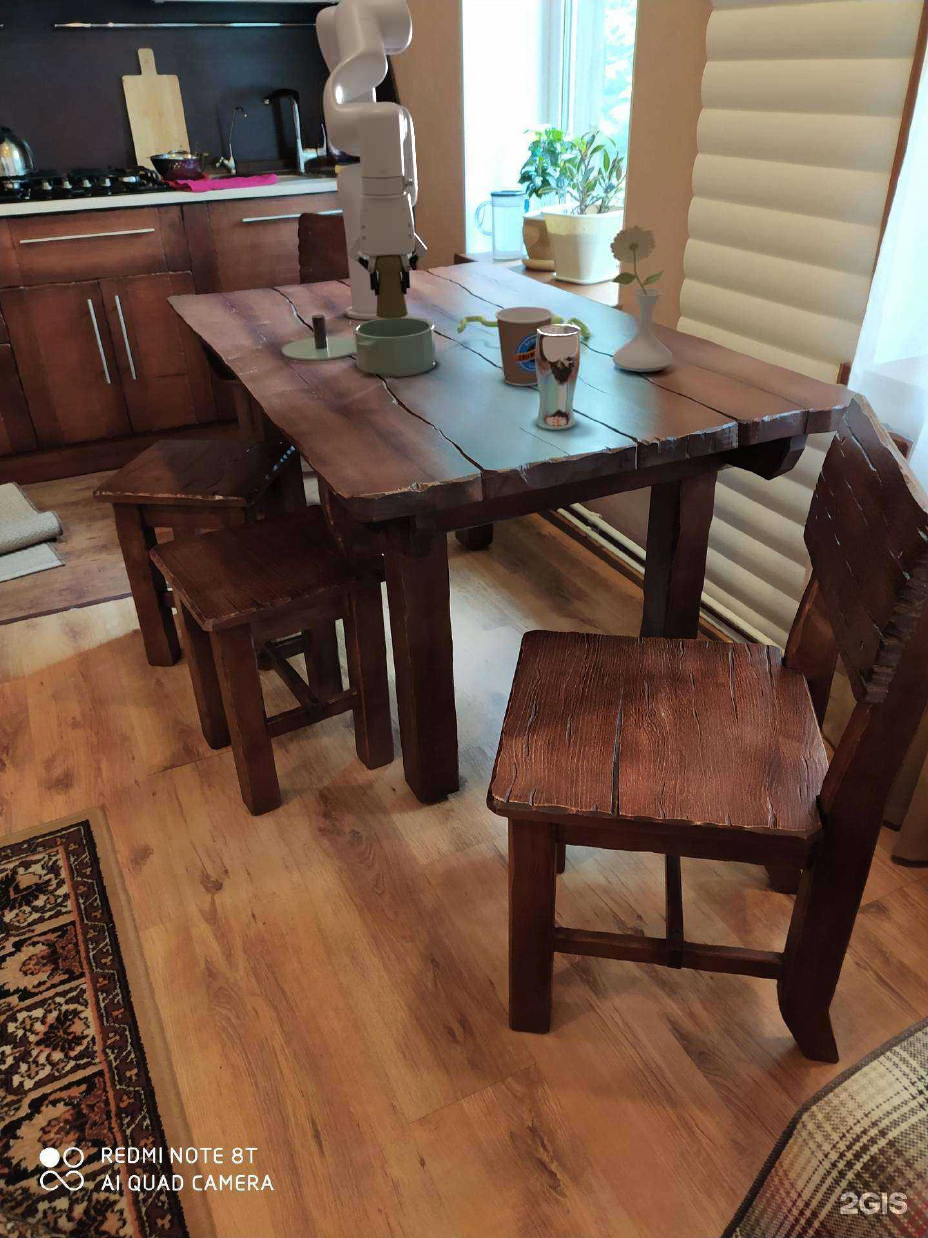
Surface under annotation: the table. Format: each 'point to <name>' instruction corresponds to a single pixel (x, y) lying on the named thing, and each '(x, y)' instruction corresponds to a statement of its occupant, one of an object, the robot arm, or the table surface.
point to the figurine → (554, 320)
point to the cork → (390, 288)
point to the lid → (319, 345)
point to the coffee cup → (520, 342)
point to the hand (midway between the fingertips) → (390, 291)
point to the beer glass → (557, 374)
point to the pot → (395, 346)
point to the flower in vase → (640, 304)
